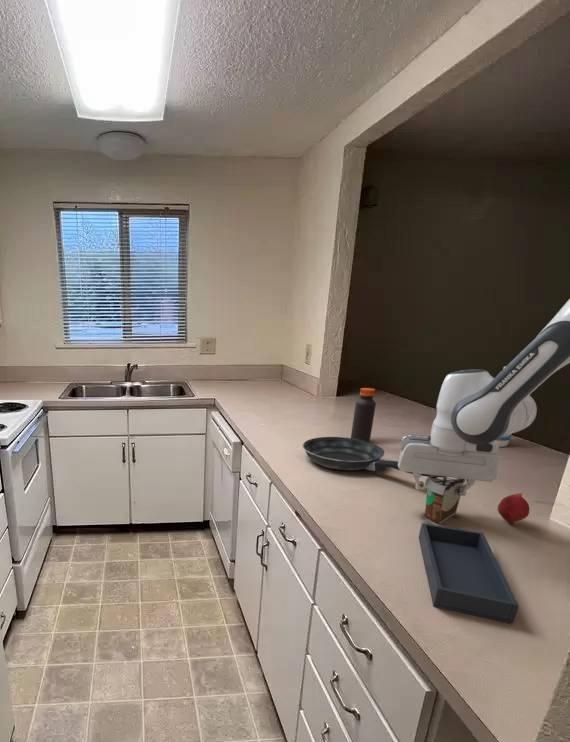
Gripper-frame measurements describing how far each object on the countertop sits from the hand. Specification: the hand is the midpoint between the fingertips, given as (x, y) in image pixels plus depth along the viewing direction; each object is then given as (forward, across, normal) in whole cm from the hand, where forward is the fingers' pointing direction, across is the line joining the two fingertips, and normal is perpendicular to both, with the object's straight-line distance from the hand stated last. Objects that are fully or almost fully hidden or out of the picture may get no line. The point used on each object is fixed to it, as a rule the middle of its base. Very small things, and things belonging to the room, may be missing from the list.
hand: (439, 491), depth 107 cm
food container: (+6, 0, 0) cm, 6 cm away
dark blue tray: (+6, +1, -27) cm, 28 cm away
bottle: (+6, -18, +57) cm, 60 cm away
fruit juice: (+6, +27, +72) cm, 77 cm away
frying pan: (+6, -18, +27) cm, 33 cm away
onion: (+6, +16, +2) cm, 17 cm away
